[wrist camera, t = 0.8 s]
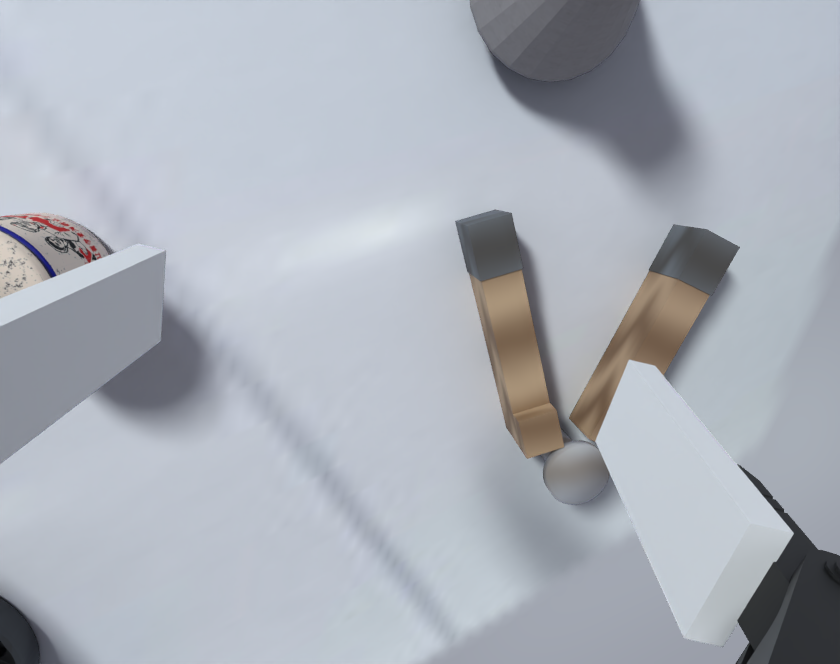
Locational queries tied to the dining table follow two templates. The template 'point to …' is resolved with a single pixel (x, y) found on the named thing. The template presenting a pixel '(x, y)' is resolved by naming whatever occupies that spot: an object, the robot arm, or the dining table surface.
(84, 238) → the teacup with lid
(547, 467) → the bar
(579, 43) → the coffee pot
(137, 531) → the dining table surface
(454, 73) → the dining table surface
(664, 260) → the tongs lower arm
